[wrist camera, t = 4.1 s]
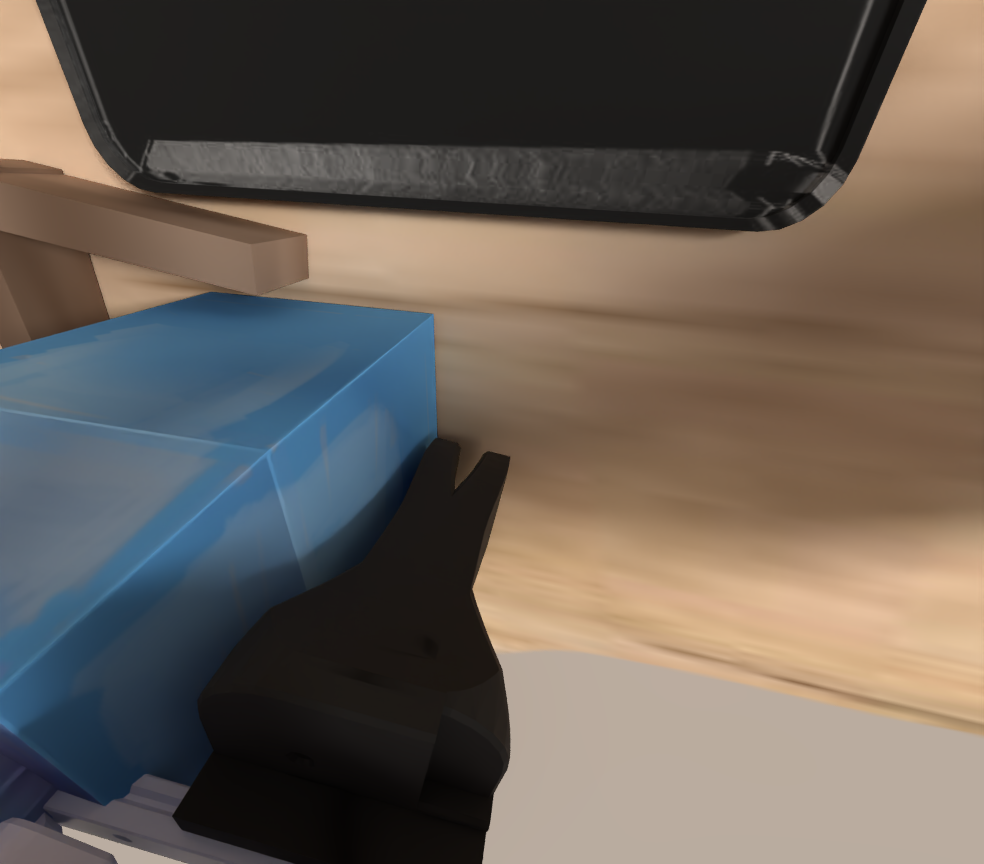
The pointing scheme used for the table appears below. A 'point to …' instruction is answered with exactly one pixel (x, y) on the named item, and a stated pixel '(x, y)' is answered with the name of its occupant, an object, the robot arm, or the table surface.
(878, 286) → the table surface
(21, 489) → the perfume bottle
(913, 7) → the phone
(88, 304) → the bracket
